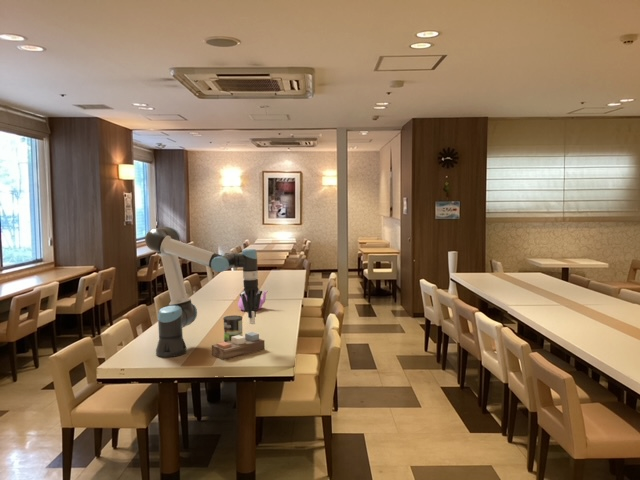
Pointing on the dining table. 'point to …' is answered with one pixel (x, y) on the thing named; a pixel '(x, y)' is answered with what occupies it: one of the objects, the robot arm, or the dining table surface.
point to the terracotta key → (223, 345)
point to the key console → (238, 349)
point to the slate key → (252, 336)
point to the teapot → (259, 305)
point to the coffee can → (232, 327)
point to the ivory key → (238, 339)
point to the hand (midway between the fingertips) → (252, 323)
